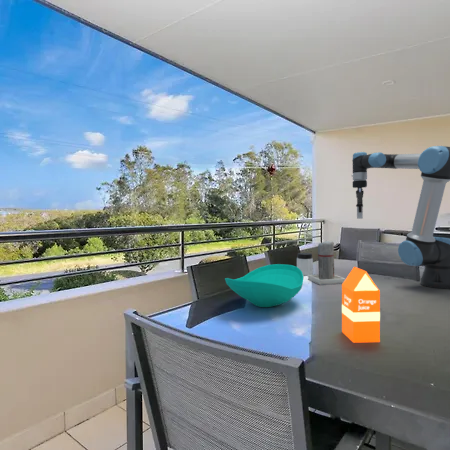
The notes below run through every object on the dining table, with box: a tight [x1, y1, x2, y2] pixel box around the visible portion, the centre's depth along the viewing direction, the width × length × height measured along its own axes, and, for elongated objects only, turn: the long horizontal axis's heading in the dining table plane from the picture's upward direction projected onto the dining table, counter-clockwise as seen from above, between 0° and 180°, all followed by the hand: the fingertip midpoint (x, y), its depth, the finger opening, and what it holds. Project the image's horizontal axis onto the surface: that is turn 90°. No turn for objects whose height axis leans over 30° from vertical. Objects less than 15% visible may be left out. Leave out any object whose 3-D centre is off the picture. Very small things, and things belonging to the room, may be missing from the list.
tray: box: [307, 273, 346, 286], centre depth 179 cm, size 14×14×2 cm
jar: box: [296, 252, 314, 277], centre depth 199 cm, size 9×8×12 cm
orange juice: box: [341, 266, 381, 344], centre depth 101 cm, size 8×9×20 cm
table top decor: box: [224, 263, 305, 308], centre depth 137 cm, size 40×28×13 cm
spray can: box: [317, 240, 335, 280], centre depth 179 cm, size 8×8×20 cm
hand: (359, 218), depth 196 cm, fingers open, 13 cm apart
